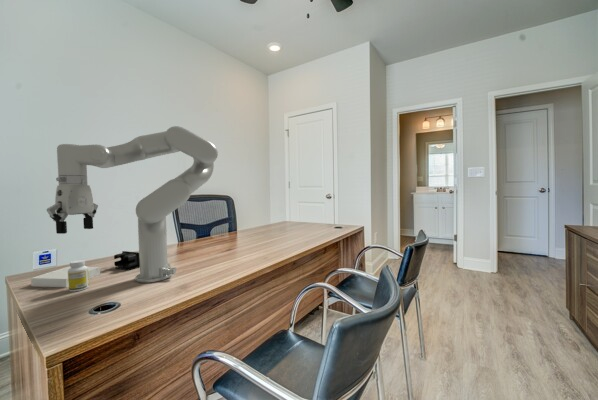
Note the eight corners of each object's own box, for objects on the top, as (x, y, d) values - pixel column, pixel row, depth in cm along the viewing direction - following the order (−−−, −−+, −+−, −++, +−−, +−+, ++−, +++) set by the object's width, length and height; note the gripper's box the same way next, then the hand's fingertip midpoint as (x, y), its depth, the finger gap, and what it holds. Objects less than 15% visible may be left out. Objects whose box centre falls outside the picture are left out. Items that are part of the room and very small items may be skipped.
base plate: (100, 274, 108) (99, 267, 108) (66, 287, 94) (66, 279, 94) (69, 273, 109) (68, 266, 109) (31, 286, 95) (31, 278, 95)
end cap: (145, 266, 119) (144, 251, 118) (130, 270, 112) (129, 255, 112) (129, 264, 122) (128, 249, 122) (113, 268, 116) (113, 253, 115)
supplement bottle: (76, 286, 95) (75, 259, 94) (92, 285, 95) (91, 258, 95) (64, 292, 89) (63, 263, 89) (81, 291, 90) (80, 263, 89)
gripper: (57, 180, 81) (60, 235, 82) (104, 181, 99) (106, 227, 99) (35, 180, 82) (38, 235, 83) (86, 181, 100) (88, 227, 100)
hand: (75, 230), depth 91 cm, fingers open, 9 cm apart
